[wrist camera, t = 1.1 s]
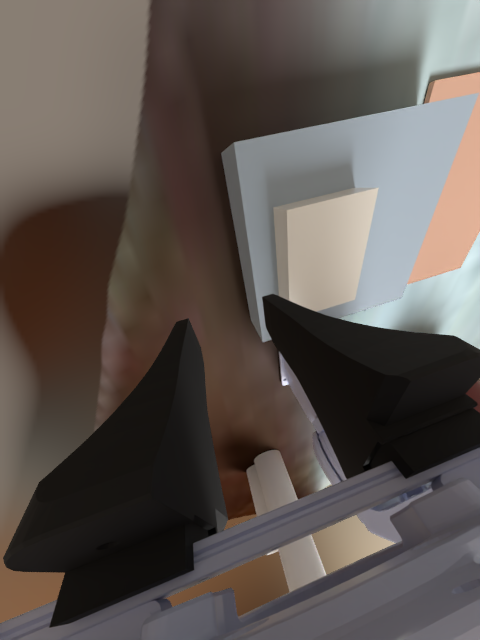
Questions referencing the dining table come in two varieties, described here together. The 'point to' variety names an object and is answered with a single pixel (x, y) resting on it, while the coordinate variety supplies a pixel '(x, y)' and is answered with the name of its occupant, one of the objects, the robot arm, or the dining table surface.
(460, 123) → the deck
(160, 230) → the dining table surface
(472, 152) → the mat
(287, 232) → the tile
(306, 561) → the white tall block
